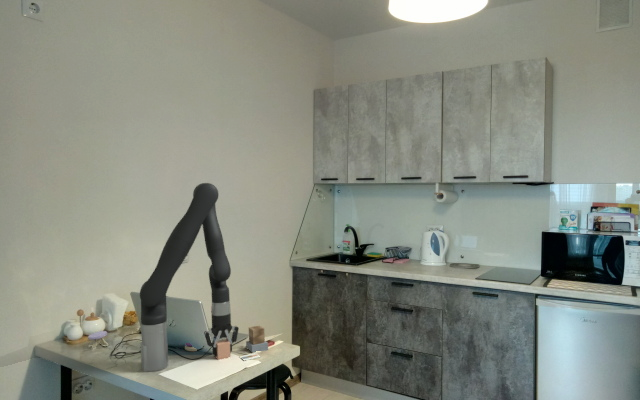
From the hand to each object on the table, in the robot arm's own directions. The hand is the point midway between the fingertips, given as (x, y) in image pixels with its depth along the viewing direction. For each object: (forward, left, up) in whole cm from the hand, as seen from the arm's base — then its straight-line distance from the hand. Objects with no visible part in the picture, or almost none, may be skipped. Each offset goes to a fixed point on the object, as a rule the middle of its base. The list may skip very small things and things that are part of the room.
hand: (222, 354), depth 181 cm
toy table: (-42, +44, -1) cm, 61 cm away
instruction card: (+9, -7, -1) cm, 11 cm away
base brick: (+15, 0, -1) cm, 15 cm away
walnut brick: (+15, 0, +2) cm, 15 cm away
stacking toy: (-7, +16, -1) cm, 18 cm away
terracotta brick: (0, 0, -1) cm, 1 cm away
